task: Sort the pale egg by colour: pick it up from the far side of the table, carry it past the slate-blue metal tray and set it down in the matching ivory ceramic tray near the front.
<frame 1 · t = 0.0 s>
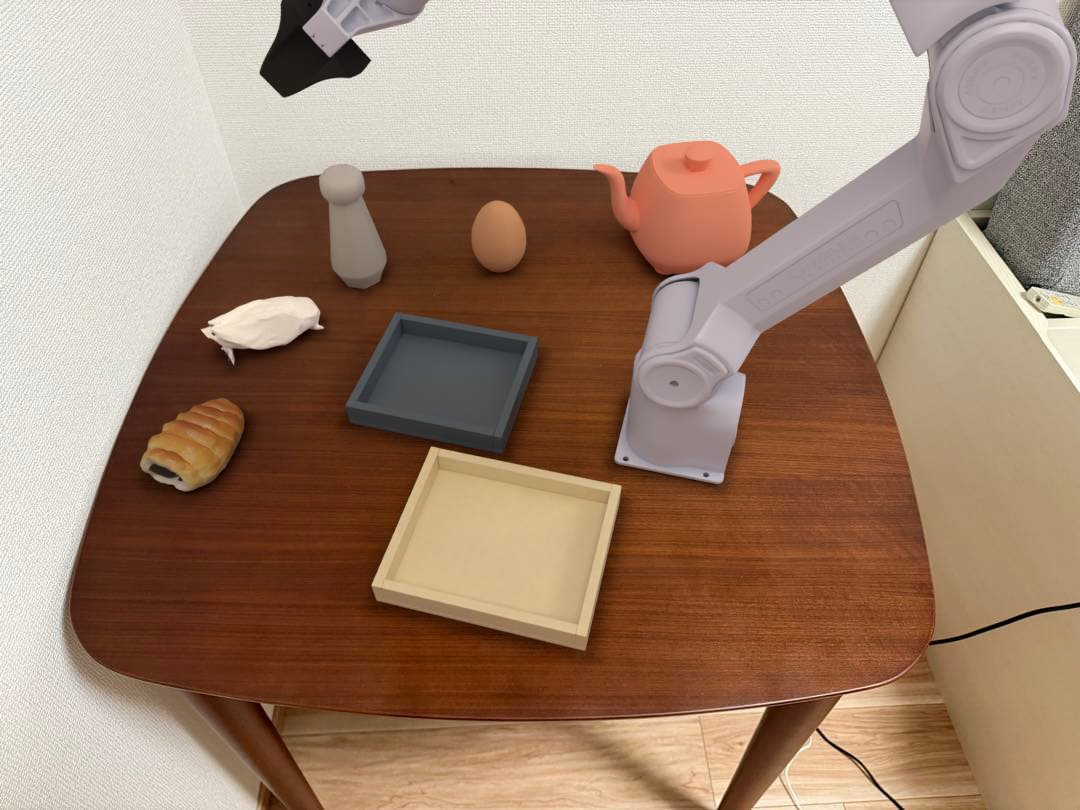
hand: (300, 54, 54), 32 cm above the table, tool tilted 50°, fingers open, 7 cm apart
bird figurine: (274, 340, 82), on the table
pastry: (198, 456, 73), on the table
teapot: (676, 249, 91), on the table
salt shaker: (363, 277, 88), on the table
slate tray: (447, 388, 78), on the table
egg: (500, 269, 89), on the table
ivory tray: (503, 549, 66), on the table
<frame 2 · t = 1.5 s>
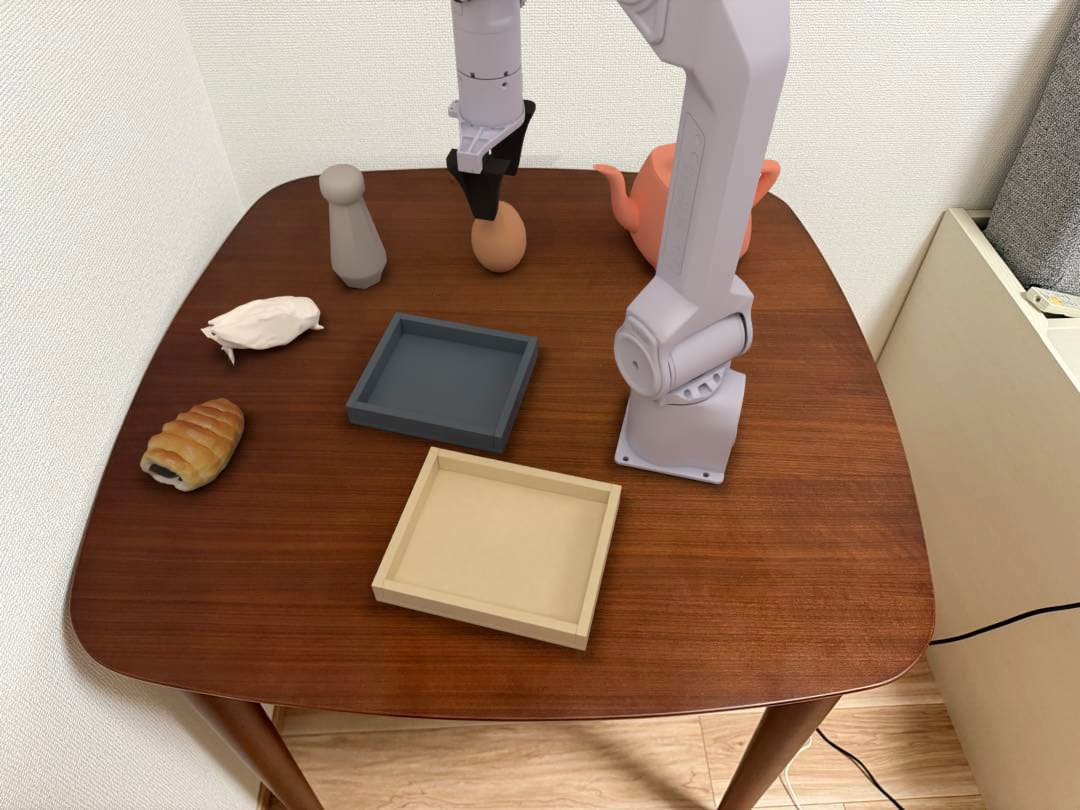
hand: (496, 194, 82), 9 cm above the table, tool pointing down, fingers open, 7 cm apart
nothing on the table moved.
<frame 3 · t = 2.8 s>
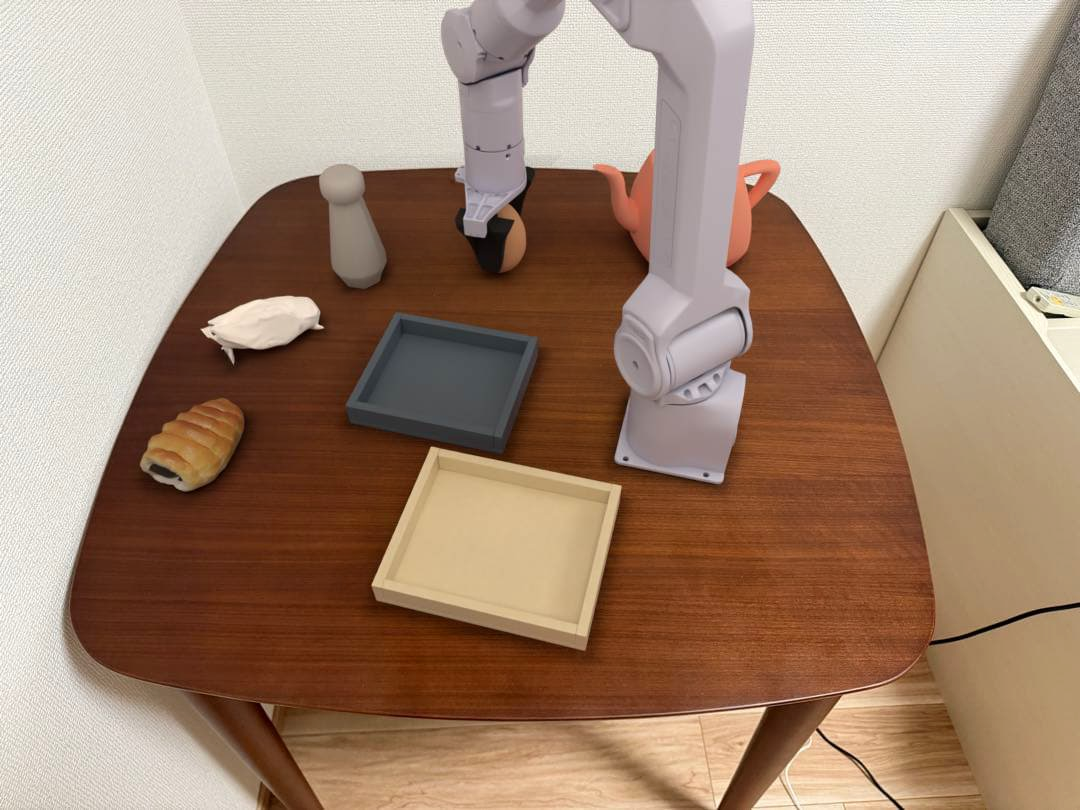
hand: (499, 250, 87), 2 cm above the table, tool pointing down, fingers closed on egg, 6 cm apart
egg: (500, 269, 89), on the table, touching gripper
everything else where it was.
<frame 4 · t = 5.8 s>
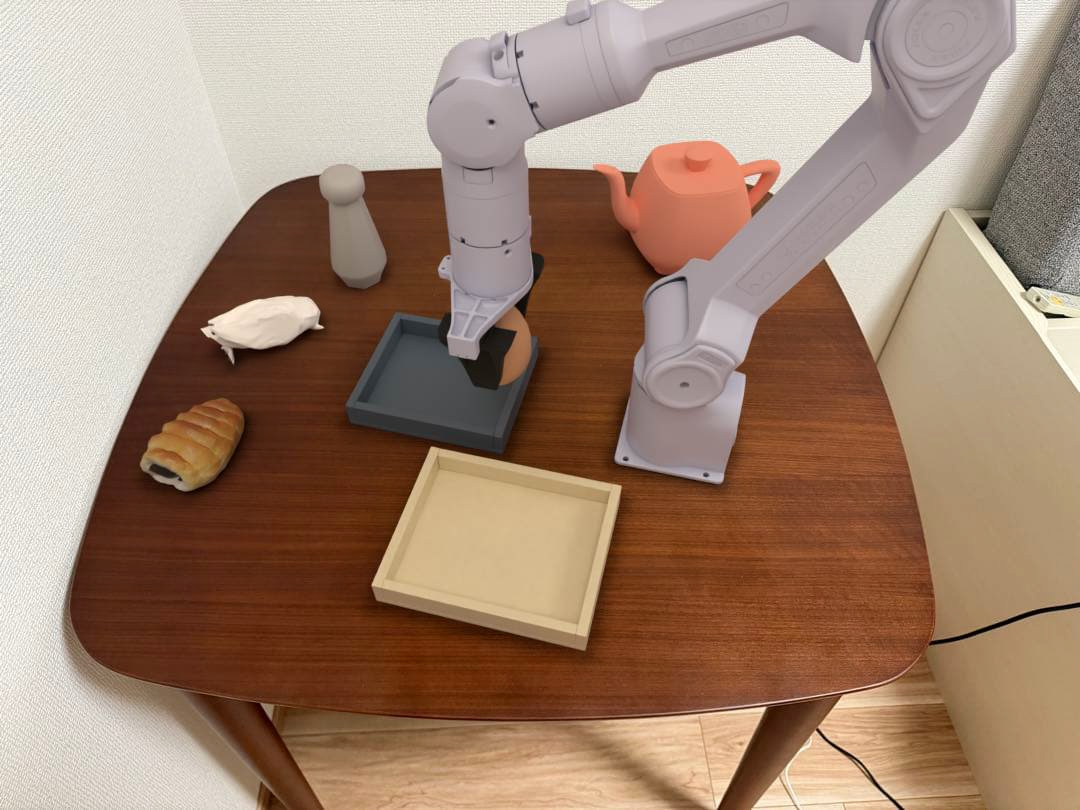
hand: (497, 357, 67), 9 cm above the table, tool pointing down, fingers closed on egg, 6 cm apart
egg: (498, 378, 69), point 7 cm above the table, touching gripper
everything else where it was.
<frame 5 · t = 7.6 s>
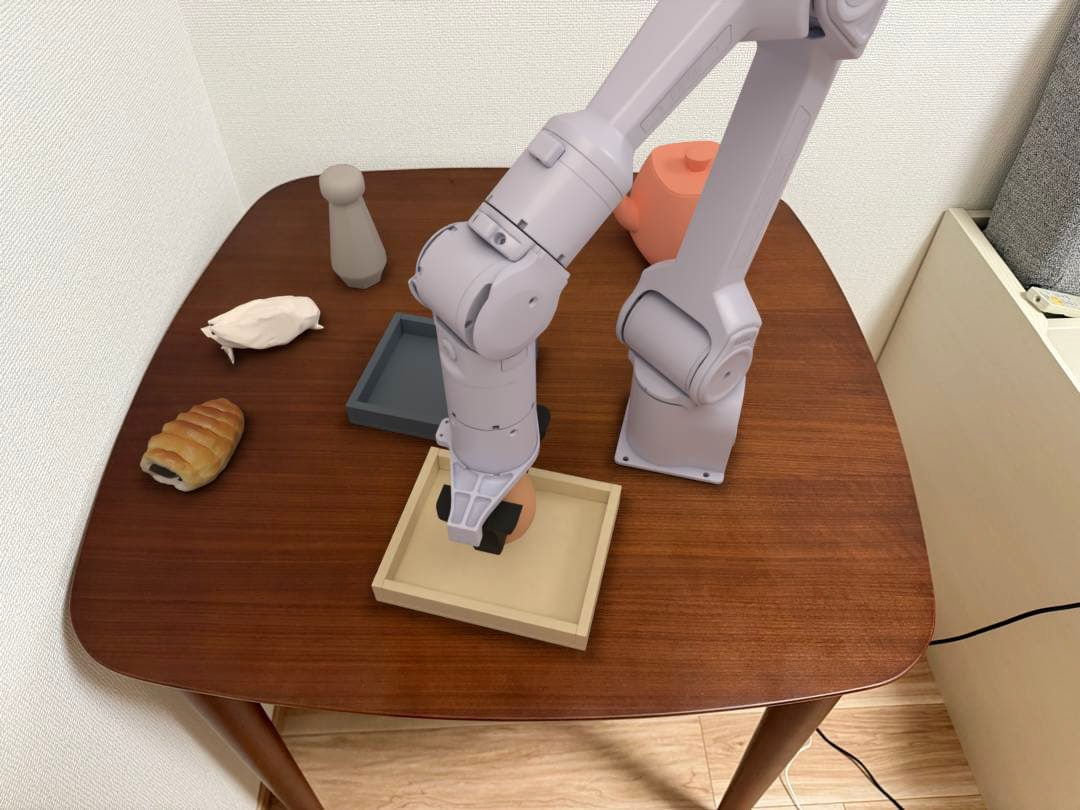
hand: (500, 513, 62), 5 cm above the table, tool pointing down, fingers closed on egg, 6 cm apart
egg: (500, 531, 64), point 3 cm above the table, touching gripper
everything else where it was.
when the fingers open (3 cm above the table, at t = 8.9 s): egg stays where it is, resting on ivory tray.
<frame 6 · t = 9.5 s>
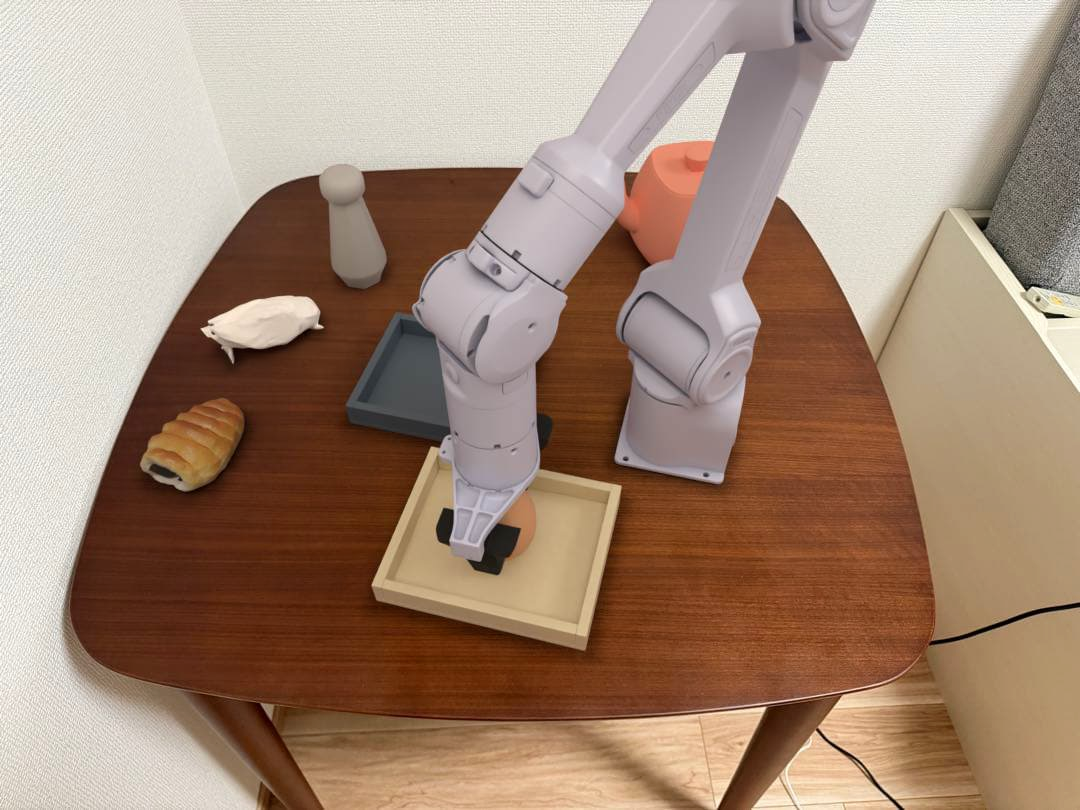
hand: (501, 526, 64), 4 cm above the table, tool pointing down, fingers open, 7 cm apart
egg: (501, 547, 66), resting on ivory tray
everything else where it was.
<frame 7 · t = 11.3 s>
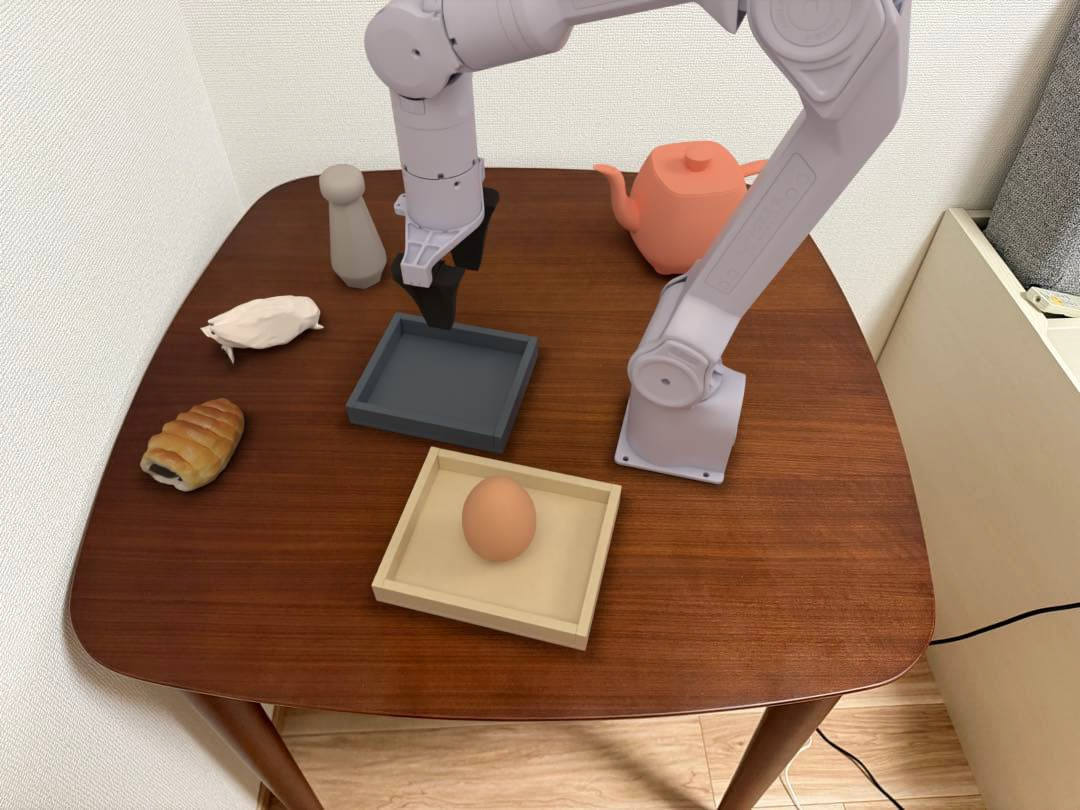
hand: (454, 295, 71), 10 cm above the table, tool pointing down, fingers open, 7 cm apart
nothing on the table moved.
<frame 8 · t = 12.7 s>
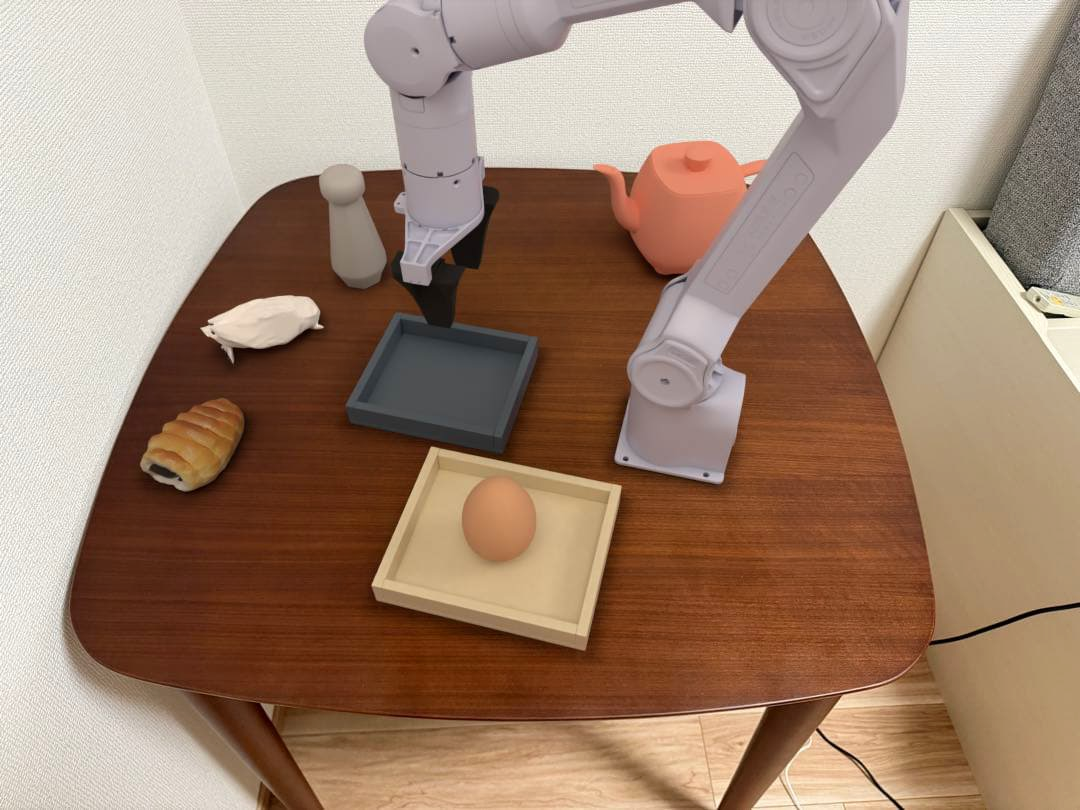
hand: (454, 293, 71), 10 cm above the table, tool pointing down, fingers open, 7 cm apart
nothing on the table moved.
at the end: egg inside the target area in the ivory tray (0.1 cm from its centre), point 0.3 cm above the ivory tray's base; egg touching ivory tray; the gripper is holding nothing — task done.
